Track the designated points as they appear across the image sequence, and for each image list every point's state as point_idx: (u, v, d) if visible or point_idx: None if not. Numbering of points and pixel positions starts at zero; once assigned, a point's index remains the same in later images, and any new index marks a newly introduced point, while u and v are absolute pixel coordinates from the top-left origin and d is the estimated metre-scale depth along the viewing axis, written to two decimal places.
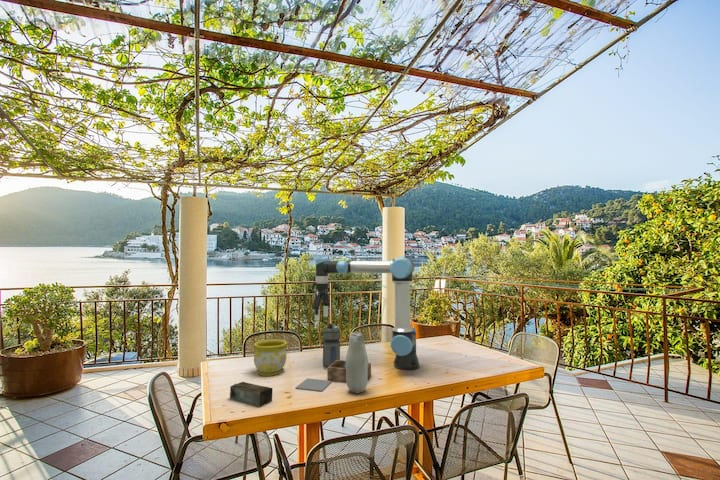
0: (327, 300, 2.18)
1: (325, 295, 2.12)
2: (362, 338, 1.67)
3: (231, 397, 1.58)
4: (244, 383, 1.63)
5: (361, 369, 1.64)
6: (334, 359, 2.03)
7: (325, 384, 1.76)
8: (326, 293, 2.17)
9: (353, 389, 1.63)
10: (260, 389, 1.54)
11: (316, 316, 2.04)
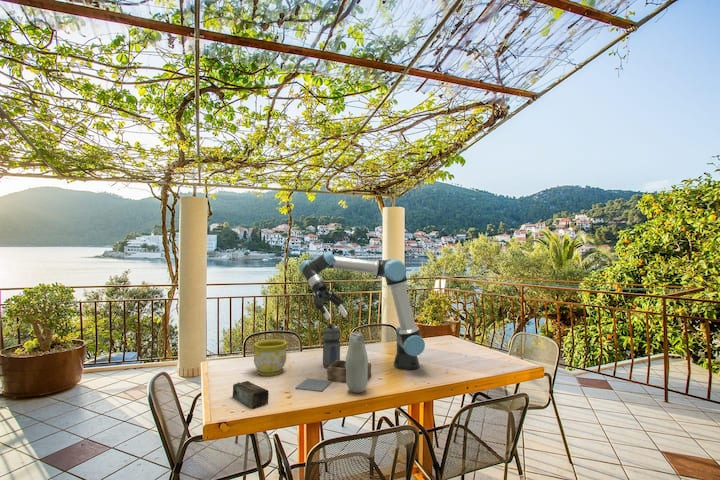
0: (338, 299, 1.88)
1: (328, 293, 1.85)
2: (362, 338, 1.67)
3: (233, 396, 1.60)
4: (247, 382, 1.63)
5: (361, 369, 1.64)
6: (334, 359, 2.03)
7: (325, 384, 1.76)
8: (331, 293, 1.89)
9: (353, 389, 1.63)
10: (255, 390, 1.52)
11: (326, 315, 1.73)
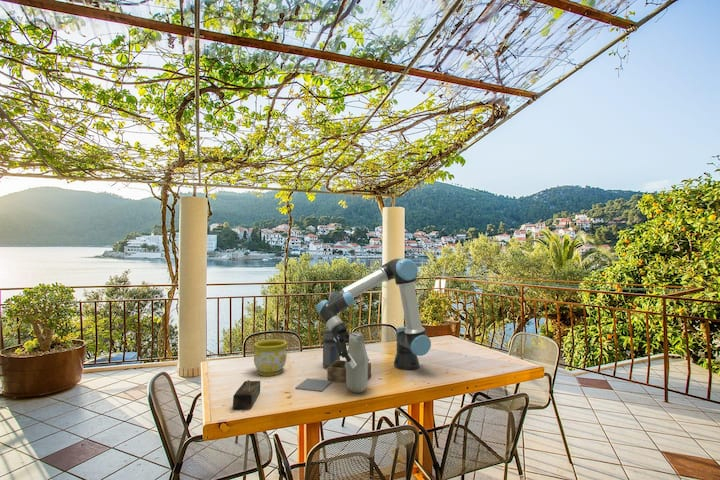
0: None
1: (348, 336, 1.74)
2: (362, 338, 1.67)
3: None
4: (255, 382, 1.63)
5: (361, 369, 1.64)
6: (334, 359, 2.03)
7: (325, 384, 1.76)
8: None
9: (353, 389, 1.63)
10: (241, 392, 1.50)
11: (351, 363, 1.63)
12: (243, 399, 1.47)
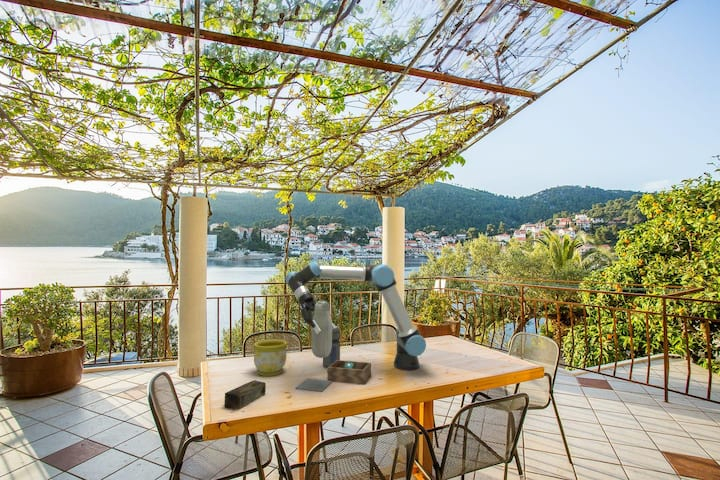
0: None
1: None
2: (327, 306, 1.74)
3: None
4: (259, 383, 1.62)
5: (325, 334, 1.71)
6: (334, 359, 2.03)
7: (325, 384, 1.76)
8: None
9: (317, 354, 1.70)
10: (233, 391, 1.51)
11: (315, 329, 1.70)
12: (231, 398, 1.48)
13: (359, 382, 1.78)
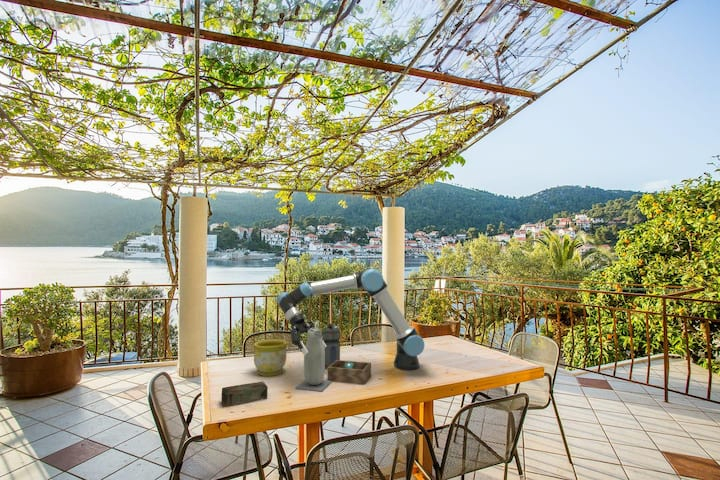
0: None
1: (306, 326, 1.83)
2: (319, 333, 1.76)
3: None
4: (260, 386, 1.59)
5: (317, 362, 1.72)
6: (334, 359, 2.03)
7: (325, 384, 1.76)
8: (310, 325, 1.87)
9: (310, 381, 1.72)
10: (228, 388, 1.55)
11: (303, 350, 1.71)
12: (222, 394, 1.52)
13: (359, 382, 1.78)
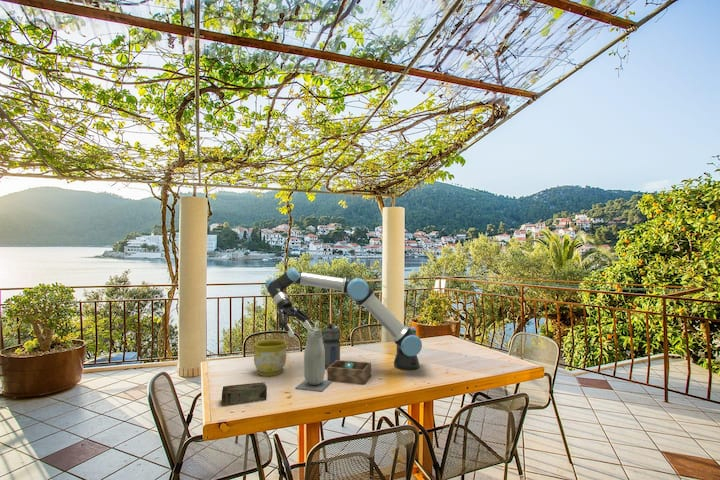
0: (303, 315, 1.92)
1: (293, 310, 1.89)
2: (319, 333, 1.76)
3: None
4: (260, 386, 1.58)
5: (317, 362, 1.72)
6: (334, 359, 2.03)
7: (325, 384, 1.76)
8: (297, 309, 1.93)
9: (310, 381, 1.72)
10: (229, 387, 1.56)
11: (289, 332, 1.77)
12: (222, 393, 1.54)
13: (359, 382, 1.78)
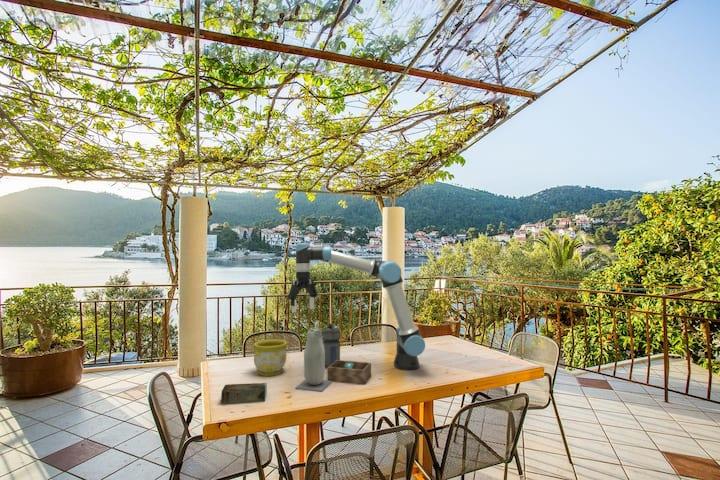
0: (314, 291, 1.96)
1: (307, 285, 1.91)
2: (319, 333, 1.76)
3: None
4: (259, 387, 1.57)
5: (317, 362, 1.72)
6: (334, 359, 2.03)
7: (325, 384, 1.76)
8: (311, 283, 1.95)
9: (310, 381, 1.72)
10: (229, 385, 1.58)
11: (293, 307, 1.84)
12: None
13: (359, 382, 1.78)
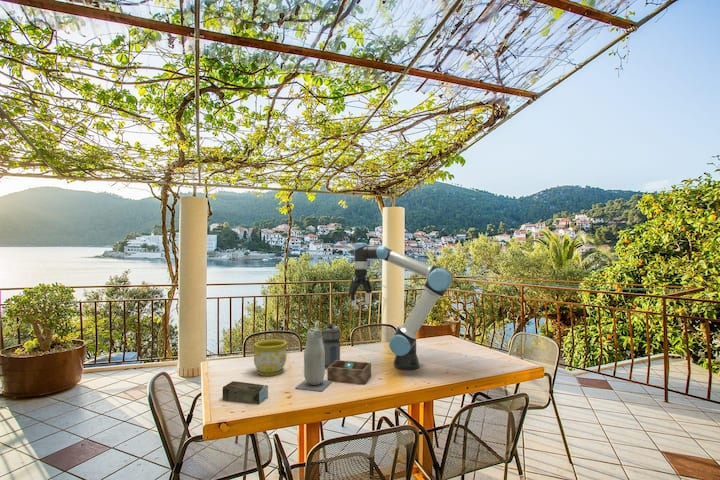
0: (369, 287, 2.12)
1: (364, 281, 2.07)
2: (319, 333, 1.76)
3: None
4: (255, 389, 1.55)
5: (317, 362, 1.72)
6: (334, 359, 2.03)
7: (325, 384, 1.76)
8: (367, 280, 2.11)
9: (310, 381, 1.72)
10: (234, 383, 1.62)
11: (353, 302, 2.00)
12: None
13: (359, 382, 1.78)
